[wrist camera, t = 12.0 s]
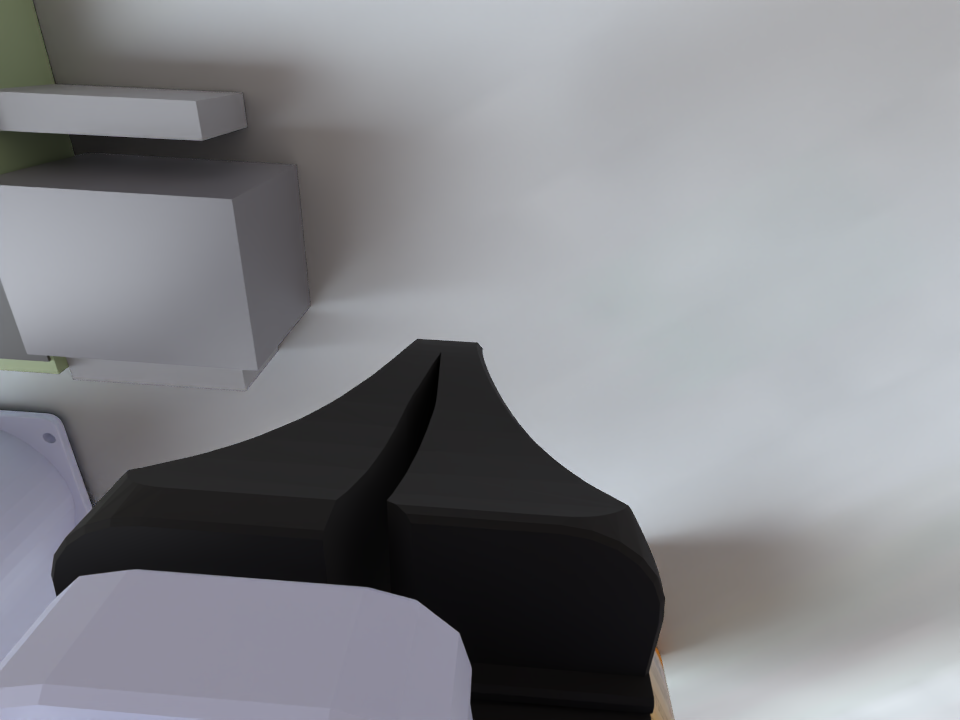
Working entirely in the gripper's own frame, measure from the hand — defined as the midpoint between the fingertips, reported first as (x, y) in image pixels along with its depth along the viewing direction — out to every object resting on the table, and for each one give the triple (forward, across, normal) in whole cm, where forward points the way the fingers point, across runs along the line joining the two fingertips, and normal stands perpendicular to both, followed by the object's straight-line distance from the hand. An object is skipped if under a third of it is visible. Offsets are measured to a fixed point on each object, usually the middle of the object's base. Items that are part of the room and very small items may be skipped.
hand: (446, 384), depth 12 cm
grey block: (+9, +10, 0) cm, 13 cm away
